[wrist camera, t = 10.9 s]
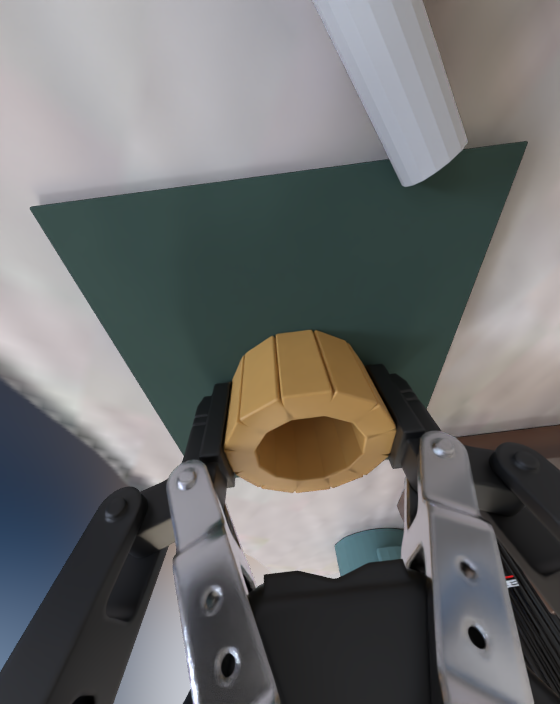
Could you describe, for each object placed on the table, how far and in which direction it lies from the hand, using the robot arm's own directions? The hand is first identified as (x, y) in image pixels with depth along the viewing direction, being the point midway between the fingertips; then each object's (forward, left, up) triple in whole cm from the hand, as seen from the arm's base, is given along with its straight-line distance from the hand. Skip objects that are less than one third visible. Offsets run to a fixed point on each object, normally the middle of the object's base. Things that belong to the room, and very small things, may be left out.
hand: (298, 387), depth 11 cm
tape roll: (0, 0, 0) cm, 0 cm away
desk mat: (0, 0, -1) cm, 1 cm away
